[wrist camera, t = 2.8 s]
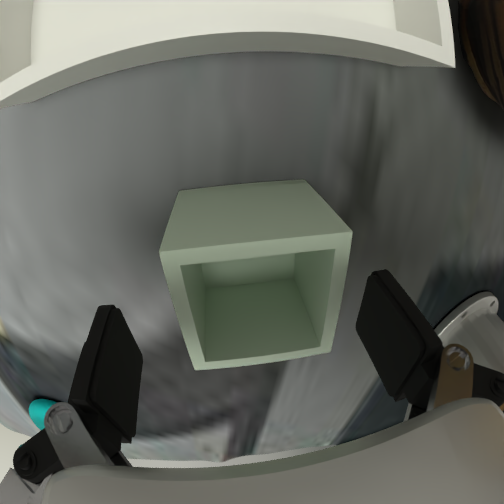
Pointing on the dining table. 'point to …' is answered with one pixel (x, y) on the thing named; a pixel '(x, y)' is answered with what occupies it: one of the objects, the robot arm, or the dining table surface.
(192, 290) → the box
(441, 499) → the robot arm
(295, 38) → the white shallow tray
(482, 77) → the ceramic jug
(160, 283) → the dining table surface
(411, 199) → the dining table surface
